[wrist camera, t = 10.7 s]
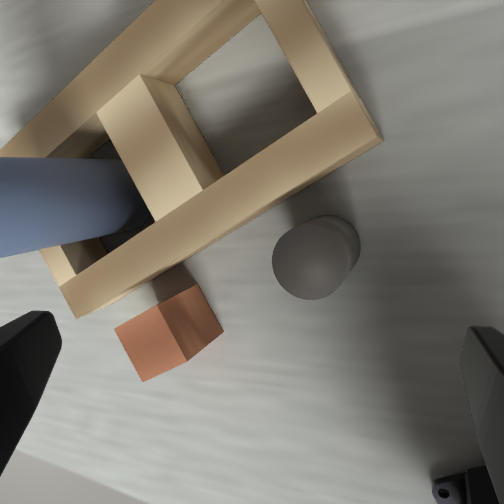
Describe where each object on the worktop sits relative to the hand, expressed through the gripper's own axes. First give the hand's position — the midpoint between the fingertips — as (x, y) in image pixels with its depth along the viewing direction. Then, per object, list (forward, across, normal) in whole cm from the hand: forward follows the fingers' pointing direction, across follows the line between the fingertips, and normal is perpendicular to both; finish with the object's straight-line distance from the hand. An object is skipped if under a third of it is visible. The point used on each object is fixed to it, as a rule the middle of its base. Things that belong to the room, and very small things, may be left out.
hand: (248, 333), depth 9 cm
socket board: (+14, +4, +2) cm, 15 cm away
